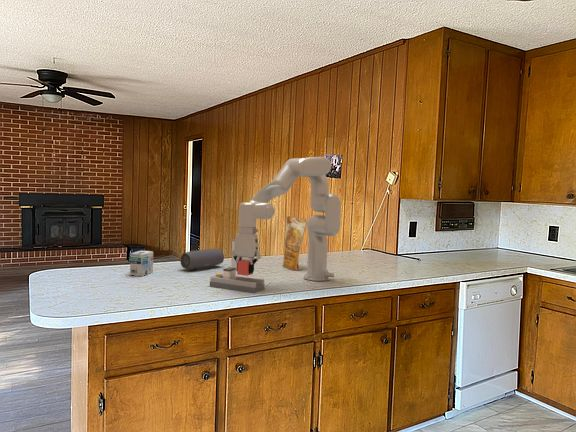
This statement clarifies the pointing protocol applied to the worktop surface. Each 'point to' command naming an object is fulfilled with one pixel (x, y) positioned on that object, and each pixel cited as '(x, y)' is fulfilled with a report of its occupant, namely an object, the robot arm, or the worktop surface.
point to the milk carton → (233, 262)
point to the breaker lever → (229, 273)
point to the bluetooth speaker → (201, 259)
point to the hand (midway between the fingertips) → (245, 271)
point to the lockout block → (243, 267)
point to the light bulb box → (141, 263)
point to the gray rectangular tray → (237, 283)
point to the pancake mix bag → (293, 241)
